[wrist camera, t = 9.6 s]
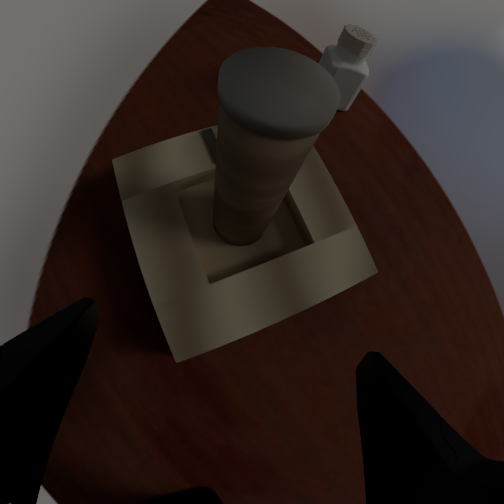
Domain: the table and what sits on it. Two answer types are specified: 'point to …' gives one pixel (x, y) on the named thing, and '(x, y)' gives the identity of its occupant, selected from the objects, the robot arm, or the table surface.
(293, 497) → the table surface
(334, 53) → the salt shaker
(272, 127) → the wooden peg
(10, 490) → the robot arm
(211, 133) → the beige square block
